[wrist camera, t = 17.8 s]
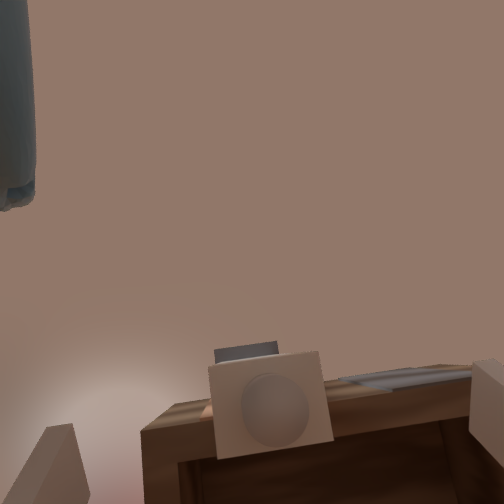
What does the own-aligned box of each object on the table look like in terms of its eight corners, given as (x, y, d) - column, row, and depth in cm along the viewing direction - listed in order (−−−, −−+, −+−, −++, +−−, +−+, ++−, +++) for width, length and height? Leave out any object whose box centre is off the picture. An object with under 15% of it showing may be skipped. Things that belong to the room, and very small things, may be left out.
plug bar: (367, 452, 11) (341, 316, 12) (197, 480, 11) (184, 337, 12) (275, 387, 36) (269, 343, 37) (222, 395, 36) (217, 351, 37)
